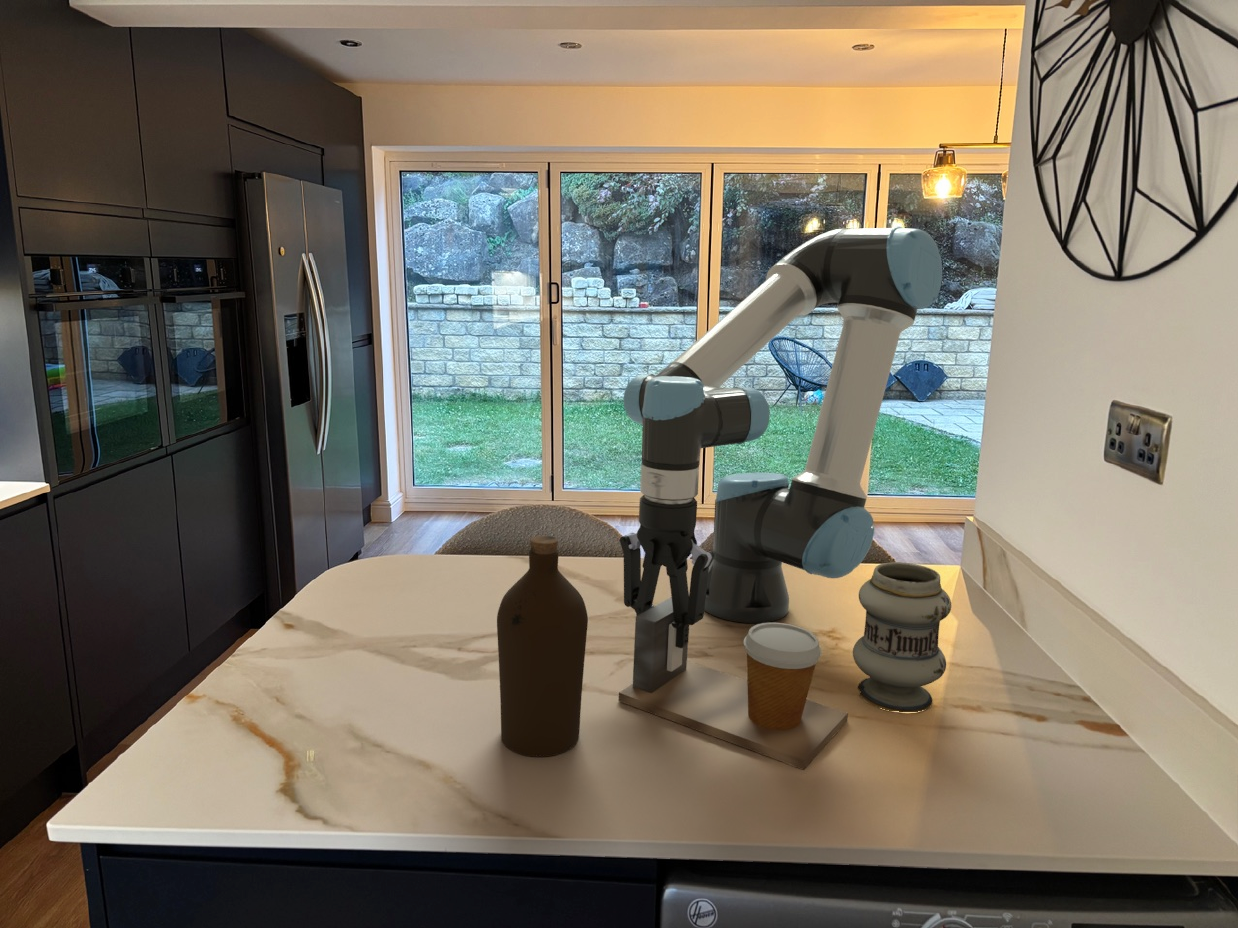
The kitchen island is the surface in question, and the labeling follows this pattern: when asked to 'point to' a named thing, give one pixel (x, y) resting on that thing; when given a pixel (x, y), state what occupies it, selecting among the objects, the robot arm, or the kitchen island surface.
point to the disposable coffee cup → (779, 673)
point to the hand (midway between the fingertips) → (660, 662)
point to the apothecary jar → (901, 636)
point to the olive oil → (541, 656)
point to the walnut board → (716, 698)
